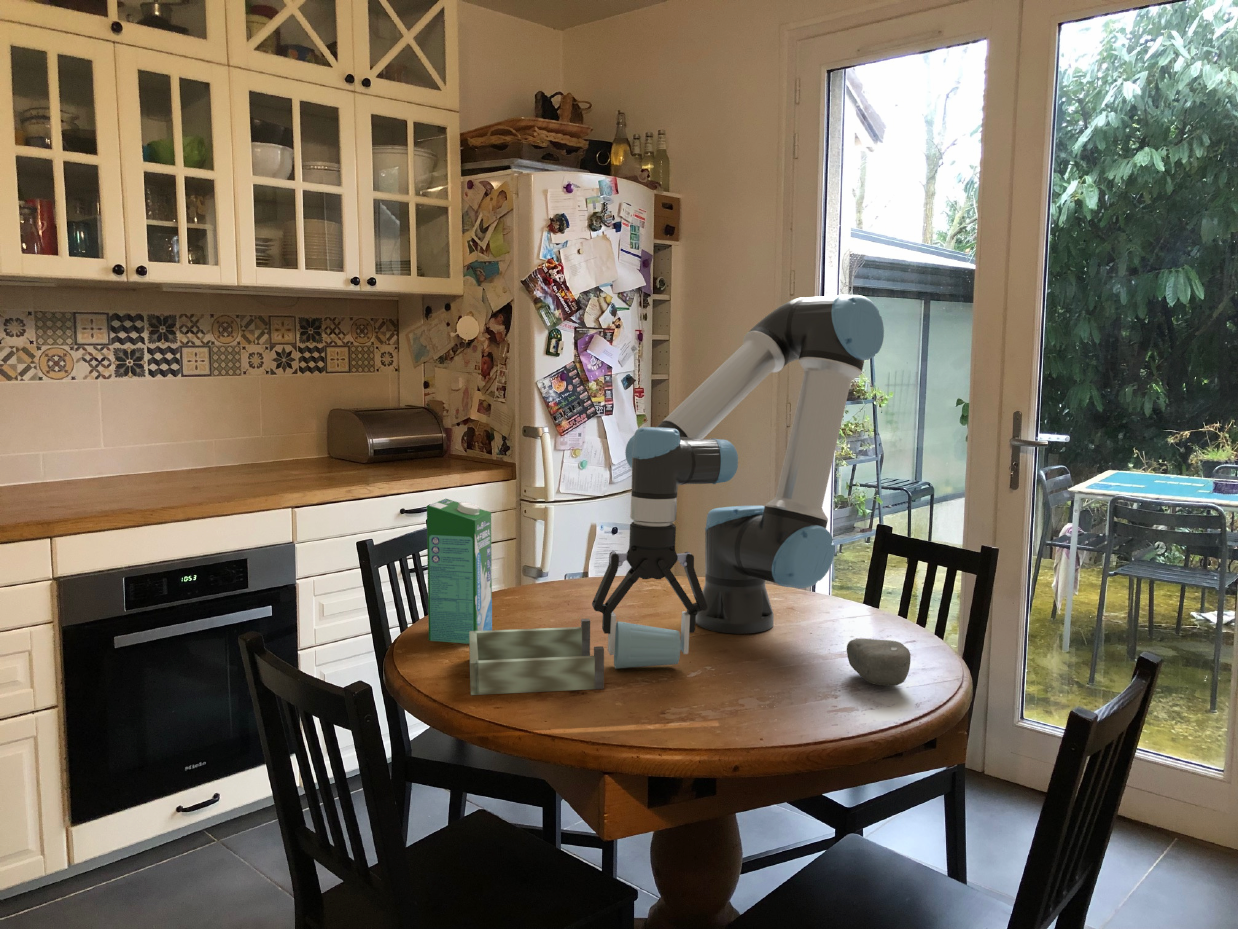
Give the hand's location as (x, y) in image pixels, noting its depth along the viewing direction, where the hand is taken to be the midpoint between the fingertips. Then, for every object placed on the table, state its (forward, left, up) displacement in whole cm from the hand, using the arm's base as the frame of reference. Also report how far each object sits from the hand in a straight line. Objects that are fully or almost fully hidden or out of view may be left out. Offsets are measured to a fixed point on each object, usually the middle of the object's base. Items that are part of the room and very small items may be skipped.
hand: (647, 652), depth 161 cm
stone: (-36, +8, -4) cm, 37 cm away
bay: (+19, 0, -3) cm, 19 cm away
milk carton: (+31, -23, -3) cm, 38 cm away
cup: (-4, -1, -4) cm, 5 cm away
